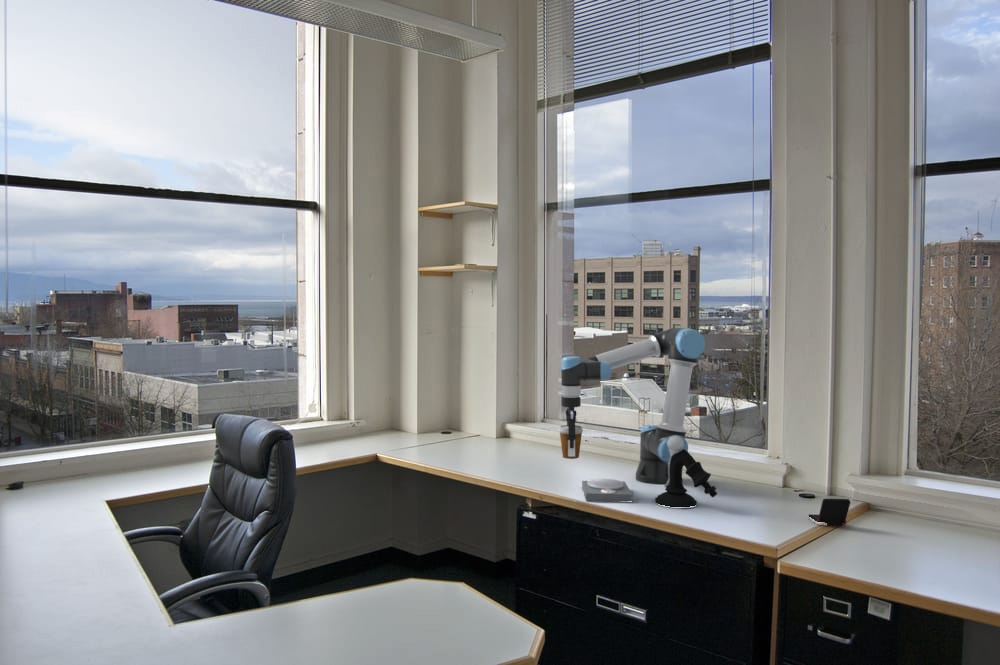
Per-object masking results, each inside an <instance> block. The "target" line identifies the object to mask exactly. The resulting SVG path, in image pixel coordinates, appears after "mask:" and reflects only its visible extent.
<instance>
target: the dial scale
mask: <svg viewBox="0 0 1000 665" xmlns="http://www.w3.org/2000/svg"><path fill="white" fill-rule="evenodd" d="M581 489H582V493H583V492H584V493H583V496H584V499H585V501H586V502H592V501H632V502H633V493H632V491H631V489H630V488H629V487H628V484H627V483H626V481H621V480H618V479H614V478H613V479H612V478H611V479H610V478H593V479H589V480H581Z"/></svg>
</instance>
